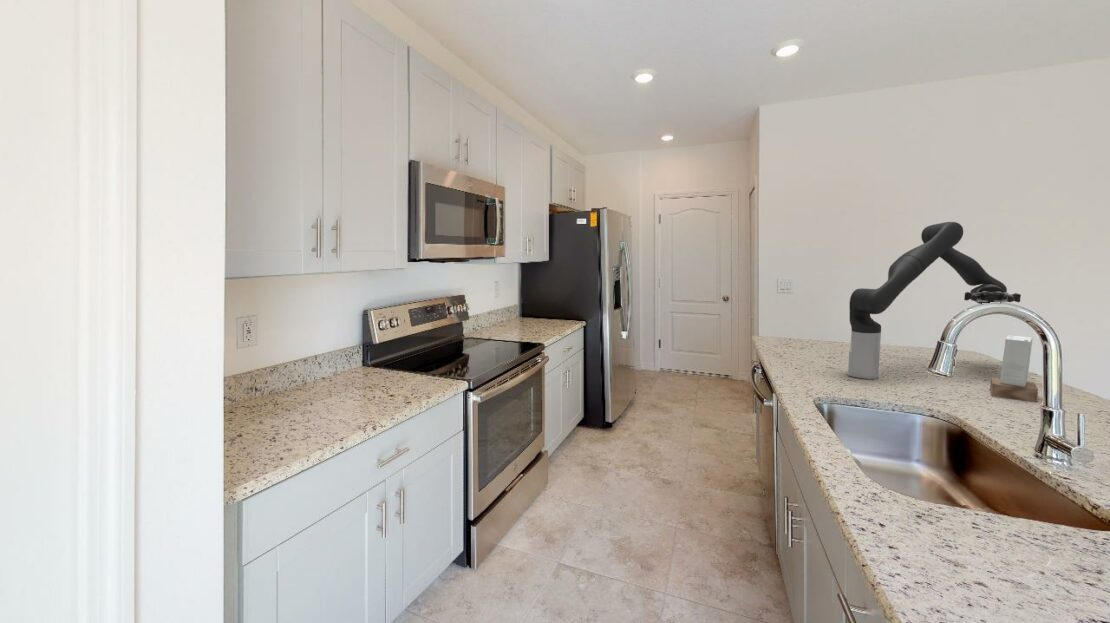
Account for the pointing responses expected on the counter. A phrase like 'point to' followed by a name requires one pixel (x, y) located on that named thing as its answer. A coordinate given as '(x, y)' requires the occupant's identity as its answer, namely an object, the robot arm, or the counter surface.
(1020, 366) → the skincare box
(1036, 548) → the counter surface
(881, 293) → the robot arm
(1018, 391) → the walnut base
